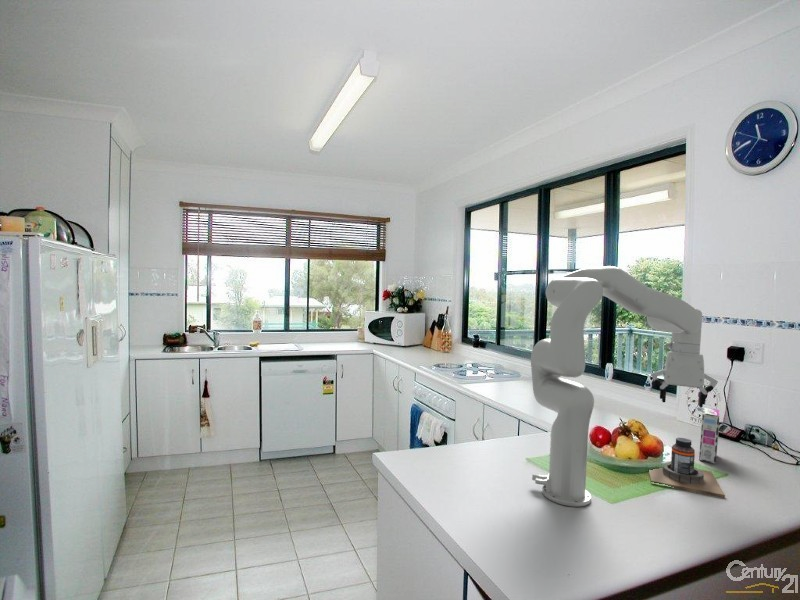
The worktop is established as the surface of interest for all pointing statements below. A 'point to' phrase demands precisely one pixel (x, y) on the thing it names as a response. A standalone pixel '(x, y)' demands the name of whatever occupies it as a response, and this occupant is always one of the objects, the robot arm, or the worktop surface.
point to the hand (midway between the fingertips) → (681, 403)
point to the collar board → (688, 481)
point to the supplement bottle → (683, 457)
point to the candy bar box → (709, 435)
